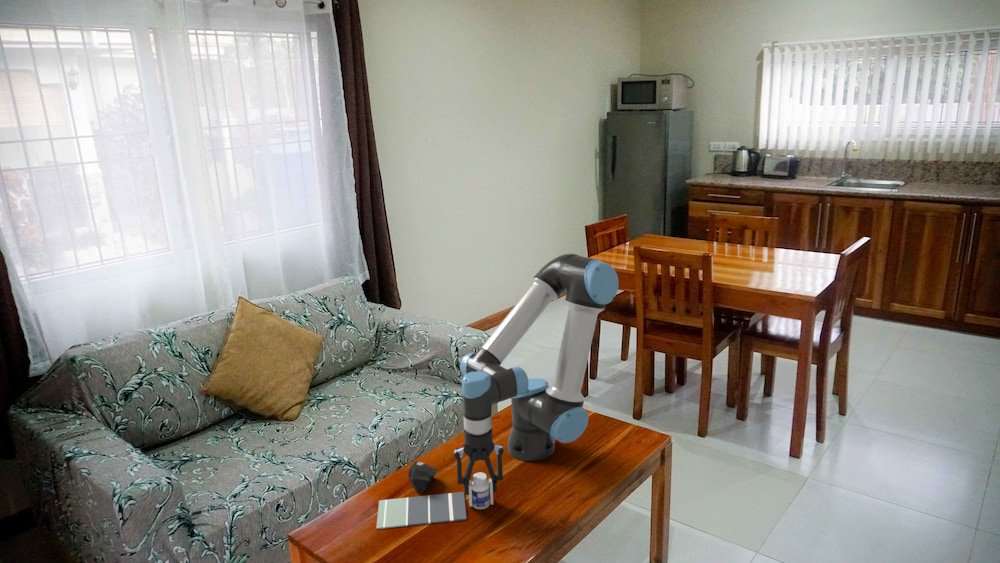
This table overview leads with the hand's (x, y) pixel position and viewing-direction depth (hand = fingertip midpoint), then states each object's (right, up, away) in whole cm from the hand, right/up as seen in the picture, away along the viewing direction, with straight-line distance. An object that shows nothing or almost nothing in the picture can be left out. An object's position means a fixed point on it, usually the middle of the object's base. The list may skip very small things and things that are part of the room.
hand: (481, 502), depth 178 cm
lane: (-16, -2, -2) cm, 17 cm away
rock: (-17, +2, +11) cm, 20 cm away
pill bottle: (0, -1, 0) cm, 1 cm away
